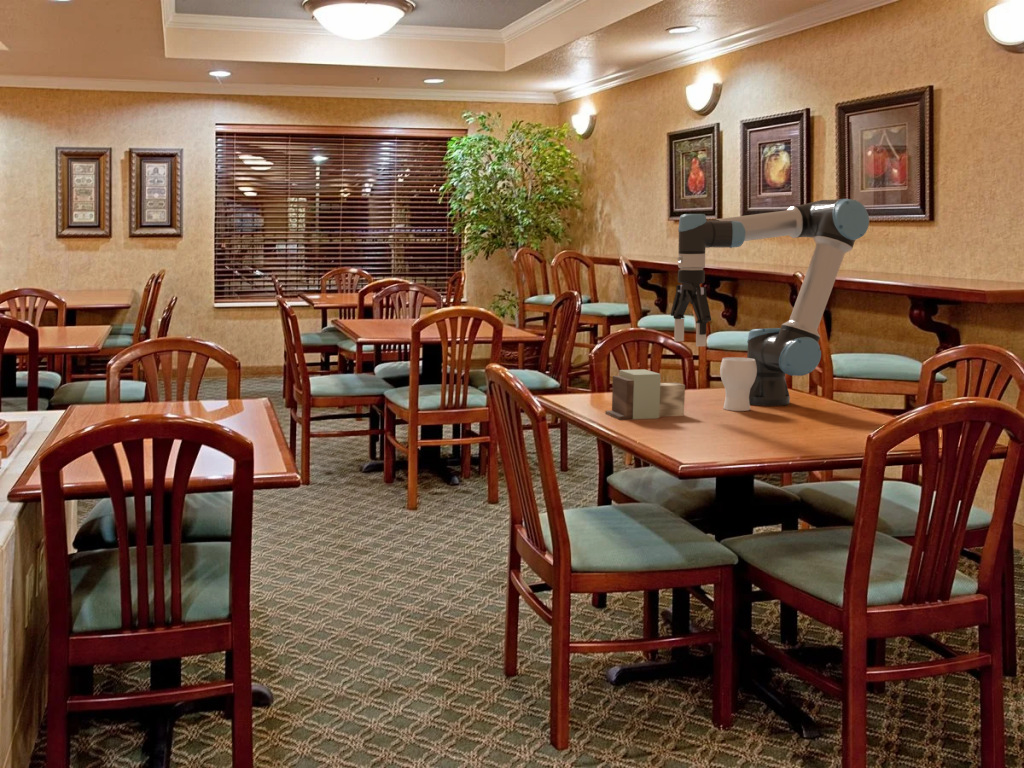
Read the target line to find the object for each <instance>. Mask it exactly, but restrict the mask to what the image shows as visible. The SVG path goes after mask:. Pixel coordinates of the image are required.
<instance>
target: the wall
mask: <svg viewBox="0 0 1024 768" xmlns="http://www.w3.org/2000/svg"><path fill="white" fill-rule="evenodd" d="M633 386H634V380H631V379H628V378H625V377H622V376H619V375H613V376H612V388H611V390H612V393H611V396H612V399H611V409H610V410H605V411H604V412H605V413H604V414H605V415H607V416H609V417H611V418H614V419H617V420H619V421H628V420H633V419H632V418H633Z"/></svg>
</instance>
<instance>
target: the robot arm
mask: <svg viewBox="0 0 1024 768" xmlns="http://www.w3.org/2000/svg"><path fill="white" fill-rule="evenodd" d="M869 224H870V216H869V213H868V211H867V209H866V207H865V206H864V205H863V203H861V202H860V201H858V200H857V199H850V198H840V199H820V200H817V201H812V202H808V203H805V204H799V205H793V206H790V207H788V208H787V209H786V210H780V211H779V210H778V211H772V212H763V213H757V214H756V213H755V214H749V215H741V216H739V215H738V216H733V217H732V216H731V217H725V218H724V217H723V218H716V219H709V220H707V215H706V214H705V213H684V214H681V215H680V217H679V221H678V230H677V231H678V255H677V258H676V259H677V262H678V263H677V267H678V268H679V269H678V271H677V283H680V284H677V285H676V287H675V295H674V299H673V303H672V307H671V311H670V316H671V317H673V319H674V329H673V330H674V331H673V333H674V335H673V338H674V342H685V313H686V310H687V308H688V306H689V304H691V306H692V308H693V311H694V313H695V314H694V315H695V316H696V321H695V324H696V326H695V327H696V329H695V331H696V332H695V333H696V334H695V347H707V324H708V323H709V322H711V321H712V314H711V311H710V305H709V301H708V296H707V287H706V286H702V287H701V284H704V283H705V278H706V275H705V273H706V271H705V270H704V268H705V267H706V249H709V248H713V249H714V248H715V249H716V248H717V249H718V248H721V249H722V248H724V249H725V248H726V249H727V248H730V249H732V248H739V247H741V246H742V245H743V244H744V243H745V242H748V241H756V240H762V239H764V240H765V239H770V238H771V239H772V238H780V237H786V236H789V237H790V238H793V239H798V238H810V239H811V238H812V239H813V240H814V242H815V247H814V251H813V254H812V256H811V259H810V261H809V264H808V267H807V270H806V272H805V276H804V278H803V281H802V284H801V286H800V289H799V292H798V295H797V298H796V300H795V303H794V306H793V309H792V310H791V311H792V312H791V314H790V316H789V320H787V321H786V322H784V323H782V324H781V326H780V327H773V328H771V327H770V328H769V327H768V328H753V329H751V330H750V331H749V332H748V335H747V341H746V342H747V352H746V353H747V355H746V358H751V359H755V361H756V366H757V375H756V378H755V381H754V383H753V385H752V387H751V389H750V394H749V403H750V405H753V406H755V405H756V406H762V407H763V406H765V407H767V406H769V407H775V406H776V407H777V406H786V405H789V404H790V401H791V400H790V399H791V396H790V392H789V387H788V385H787V381H786V375H788V376H793V377H795V376H797V377H802V376H806V375H809V374H810V373H812V372H813V371H815V370H816V368H817V366H819V363H820V361H821V358H822V350H821V349H820V348H821V345H820V343H819V341H820V339H821V335H820V334H819V332H818V331H819V330H818V329H819V327H820V323H821V321H822V318H823V315H824V312H825V310H826V307H827V304H828V301H829V300H830V299H829V298H830V296H831V293H832V291H833V287H834V285H835V282H836V279H837V276H838V273H839V271H840V268H841V265H842V262H843V259H844V257H845V255H846V254H847V253H848V252H851V251H852V250H853V247H854V245H855V242H856V240H858V239H860V238H861V237H864V235H866V233H867V231H868V229H869V226H870V225H869Z"/></svg>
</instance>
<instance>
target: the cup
mask: <svg viewBox="0 0 1024 768" xmlns="http://www.w3.org/2000/svg"><path fill="white" fill-rule="evenodd" d="M721 359H722V360H721V363H720V366H719V367H720V369H719V375H720V378H721V382H722V385H723V386H724V392H725V398H724V404H723V409H724V410H727V411H733V412H734V411H735V412H744V411H745V412H746V411H750V410H751V404H750V403H749V394H750V389H751V387H752V385H753V383H754V381H755V378H756V375H757V366H756V361H755V359H751V358H747V357H739V356H738V357H733V356H730V357H722V358H721Z"/></svg>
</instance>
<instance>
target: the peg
mask: <svg viewBox="0 0 1024 768" xmlns="http://www.w3.org/2000/svg"><path fill="white" fill-rule="evenodd" d="M685 394H686V385H685V384H683V383H679V382H660V406H659V418H660V417H681V416H683V417H684V416H685V399H686V398H685V396H686V395H685Z"/></svg>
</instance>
